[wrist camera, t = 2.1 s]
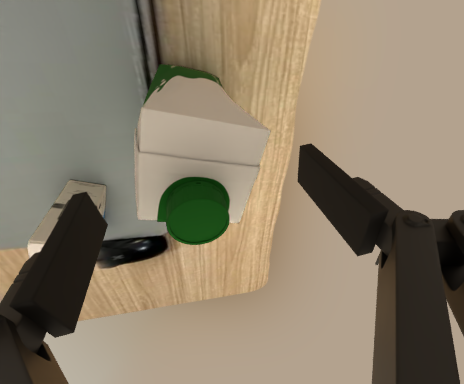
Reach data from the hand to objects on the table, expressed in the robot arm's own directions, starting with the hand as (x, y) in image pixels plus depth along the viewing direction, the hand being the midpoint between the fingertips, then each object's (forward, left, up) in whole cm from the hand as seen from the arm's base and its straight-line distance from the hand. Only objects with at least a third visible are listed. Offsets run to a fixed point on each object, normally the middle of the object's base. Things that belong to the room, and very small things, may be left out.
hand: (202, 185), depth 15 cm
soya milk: (0, 0, -19) cm, 19 cm away
